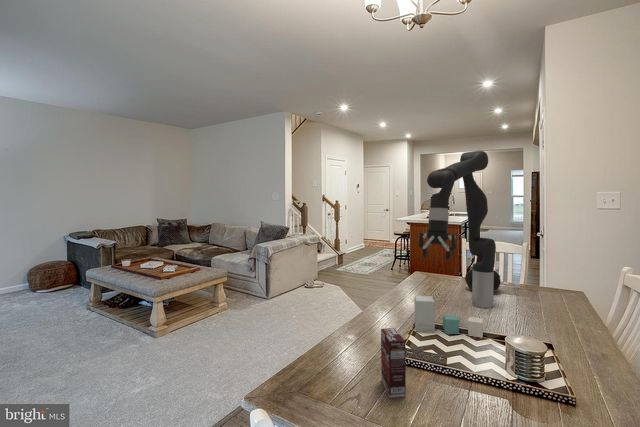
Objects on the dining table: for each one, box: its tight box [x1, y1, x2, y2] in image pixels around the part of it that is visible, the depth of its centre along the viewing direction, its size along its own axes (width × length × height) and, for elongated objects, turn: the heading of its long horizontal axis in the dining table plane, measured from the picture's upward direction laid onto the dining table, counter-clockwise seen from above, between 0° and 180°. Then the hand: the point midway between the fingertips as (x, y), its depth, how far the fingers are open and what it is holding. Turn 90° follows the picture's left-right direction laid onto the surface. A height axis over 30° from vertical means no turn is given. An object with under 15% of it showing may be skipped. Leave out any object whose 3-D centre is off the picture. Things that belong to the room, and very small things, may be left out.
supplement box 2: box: [414, 295, 436, 334], centre depth 133 cm, size 7×7×13 cm
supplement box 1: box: [380, 327, 407, 399], centre depth 92 cm, size 9×5×16 cm, turn 5°
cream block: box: [467, 316, 484, 337], centre depth 127 cm, size 5×5×6 cm
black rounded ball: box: [464, 256, 502, 293], centre depth 183 cm, size 18×18×28 cm
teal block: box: [442, 314, 460, 335], centre depth 130 cm, size 5×5×6 cm
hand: (436, 259), depth 132 cm, fingers open, 8 cm apart
